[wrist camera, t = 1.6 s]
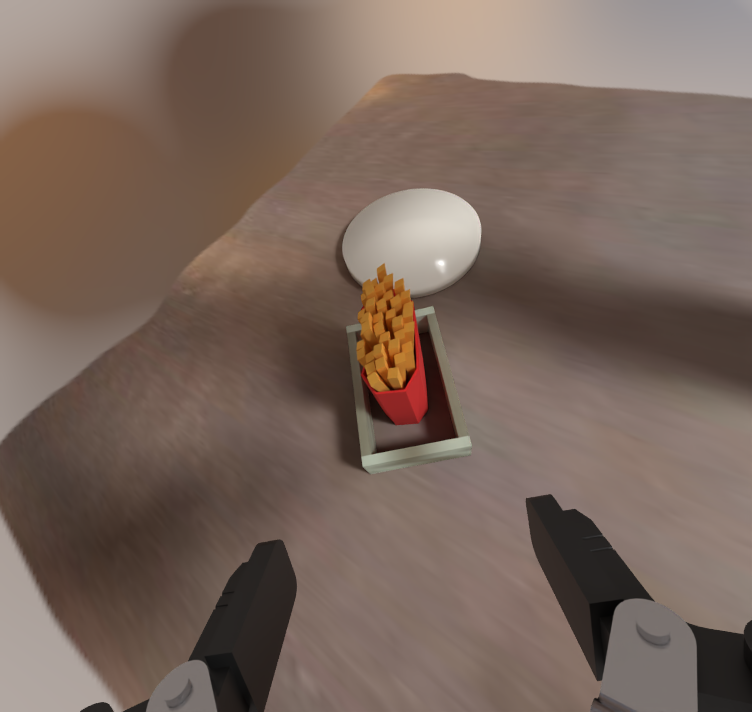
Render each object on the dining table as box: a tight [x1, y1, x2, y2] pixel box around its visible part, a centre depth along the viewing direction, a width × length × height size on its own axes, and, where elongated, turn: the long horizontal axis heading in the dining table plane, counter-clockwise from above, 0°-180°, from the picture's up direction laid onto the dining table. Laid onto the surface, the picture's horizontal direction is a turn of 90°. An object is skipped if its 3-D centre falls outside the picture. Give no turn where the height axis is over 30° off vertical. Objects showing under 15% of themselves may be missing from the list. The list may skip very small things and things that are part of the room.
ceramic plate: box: [342, 189, 481, 298], centre depth 42 cm, size 16×16×2 cm
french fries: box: [356, 263, 428, 425], centre depth 28 cm, size 9×4×13 cm, turn 1°
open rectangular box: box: [346, 306, 472, 474], centre depth 33 cm, size 9×14×3 cm, turn 8°
